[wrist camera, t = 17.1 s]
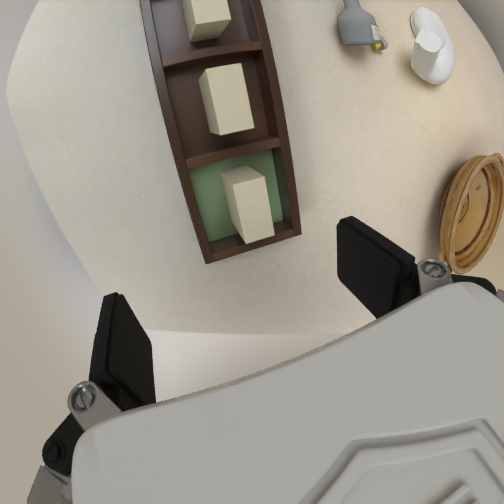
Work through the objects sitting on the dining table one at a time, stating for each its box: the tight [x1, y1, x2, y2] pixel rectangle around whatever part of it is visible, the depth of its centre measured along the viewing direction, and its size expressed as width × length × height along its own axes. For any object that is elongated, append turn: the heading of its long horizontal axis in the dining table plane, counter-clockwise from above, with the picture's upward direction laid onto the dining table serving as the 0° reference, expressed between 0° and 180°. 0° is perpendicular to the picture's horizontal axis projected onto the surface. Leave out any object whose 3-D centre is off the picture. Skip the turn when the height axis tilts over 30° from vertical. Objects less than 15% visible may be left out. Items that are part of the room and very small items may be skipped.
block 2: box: [198, 63, 254, 135], centre depth 22 cm, size 3×6×6 cm, turn 11°
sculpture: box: [410, 7, 454, 84], centre depth 23 cm, size 12×15×8 cm
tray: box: [139, 0, 302, 264], centre depth 24 cm, size 11×32×4 cm, turn 11°
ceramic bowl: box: [439, 153, 504, 274], centre depth 40 cm, size 30×24×8 cm
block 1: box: [181, 0, 231, 43], centre depth 17 cm, size 3×6×6 cm, turn 12°
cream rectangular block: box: [220, 165, 275, 244], centre depth 27 cm, size 3×6×6 cm, turn 11°
